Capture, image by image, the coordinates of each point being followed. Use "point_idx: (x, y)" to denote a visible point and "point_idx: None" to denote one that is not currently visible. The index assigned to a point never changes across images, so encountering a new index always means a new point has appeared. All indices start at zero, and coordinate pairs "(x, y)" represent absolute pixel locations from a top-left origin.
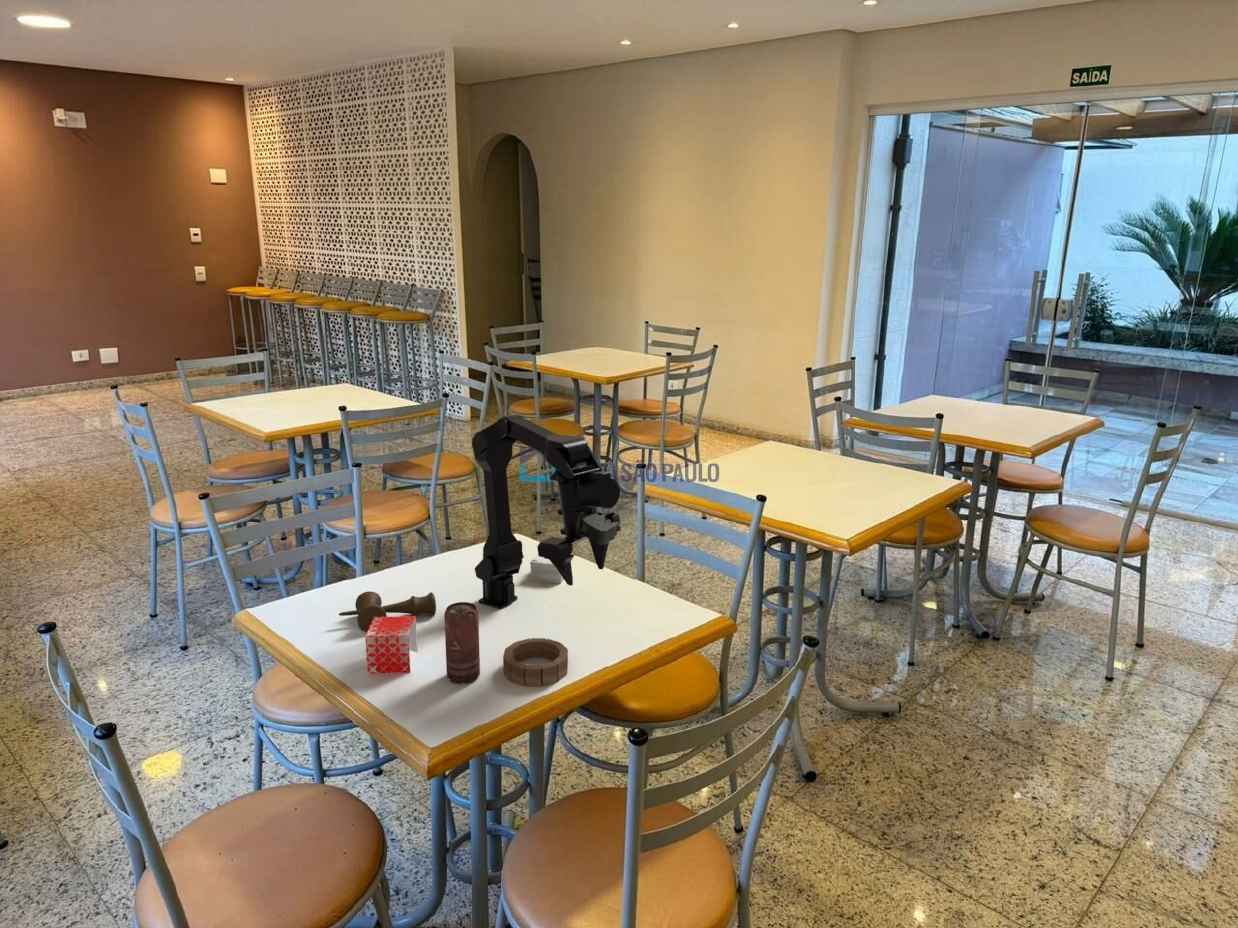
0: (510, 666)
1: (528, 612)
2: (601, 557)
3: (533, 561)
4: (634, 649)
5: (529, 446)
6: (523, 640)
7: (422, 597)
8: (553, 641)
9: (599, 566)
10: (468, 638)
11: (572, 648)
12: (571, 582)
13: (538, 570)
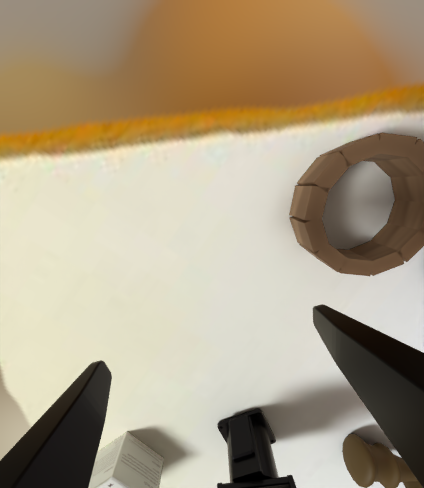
0: None
1: (230, 379)
2: (61, 436)
3: None
4: (146, 159)
5: None
6: (355, 271)
7: (380, 479)
8: (312, 233)
9: (104, 382)
10: None
11: (246, 235)
12: (333, 312)
13: (149, 477)
